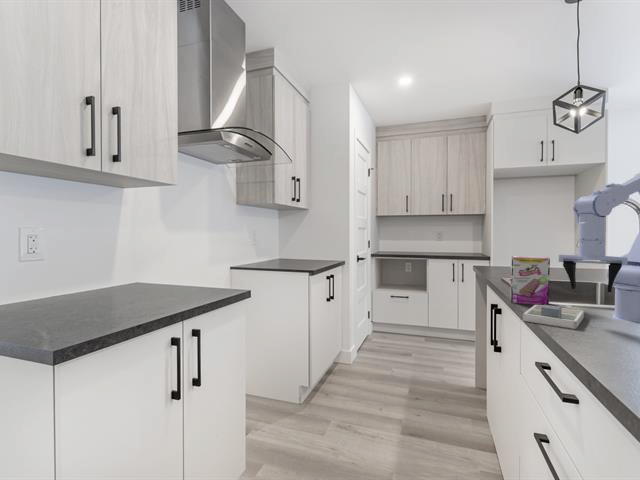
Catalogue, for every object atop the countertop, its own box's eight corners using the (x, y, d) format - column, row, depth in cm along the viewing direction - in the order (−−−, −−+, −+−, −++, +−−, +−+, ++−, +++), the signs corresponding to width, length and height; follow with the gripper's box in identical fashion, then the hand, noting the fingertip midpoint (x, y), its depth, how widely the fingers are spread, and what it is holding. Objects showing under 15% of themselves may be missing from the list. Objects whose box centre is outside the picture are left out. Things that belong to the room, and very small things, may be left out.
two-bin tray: (535, 312, 107) (535, 304, 107) (583, 319, 99) (583, 310, 98) (522, 322, 96) (523, 313, 96) (576, 331, 88) (576, 321, 88)
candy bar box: (510, 304, 118) (511, 257, 117) (510, 301, 122) (510, 255, 122) (549, 307, 113) (550, 257, 112) (547, 304, 117) (548, 256, 116)
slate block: (544, 318, 98) (544, 304, 97) (561, 321, 95) (561, 306, 95) (541, 321, 95) (541, 307, 94) (558, 324, 92) (558, 309, 92)
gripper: (556, 240, 95) (556, 288, 95) (627, 240, 85) (626, 295, 85) (561, 239, 100) (560, 285, 100) (628, 239, 90) (627, 291, 90)
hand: (591, 289), depth 93 cm, fingers open, 7 cm apart
